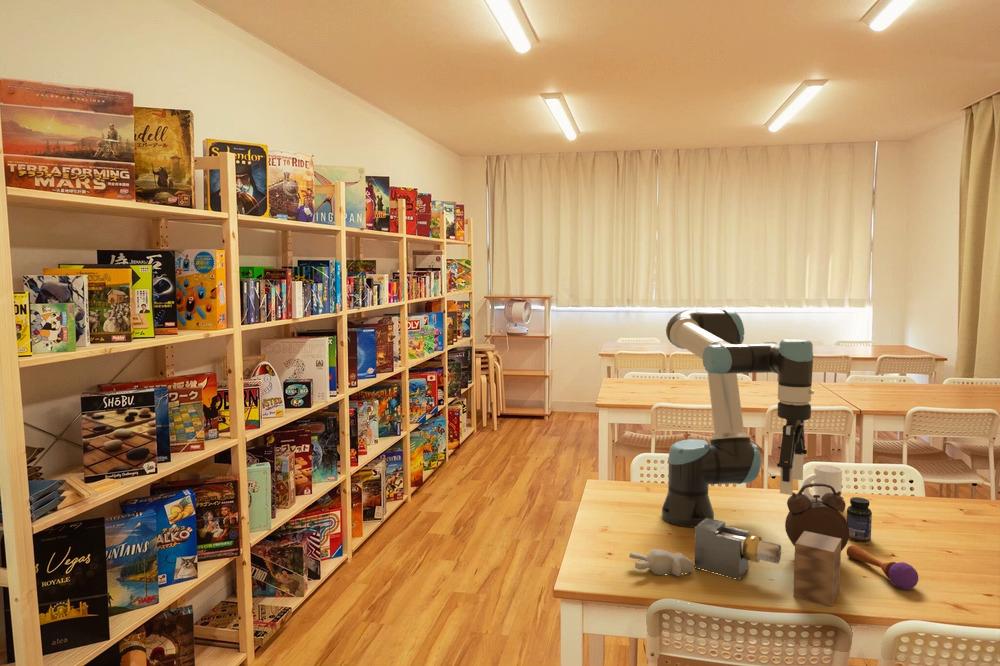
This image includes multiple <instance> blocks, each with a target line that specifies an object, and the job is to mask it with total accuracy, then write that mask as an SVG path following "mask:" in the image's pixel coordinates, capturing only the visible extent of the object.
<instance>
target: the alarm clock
mask: <svg viewBox="0 0 1000 666" xmlns="http://www.w3.org/2000/svg"><path fill="white" fill-rule="evenodd" d="M813 486H823V487H828V488H831V490H832V491H833V493H826V494H825V495H823V496H822V498H821V500H822V501H821V500H817V498H820V495H813V497H814V498H816V499H809V498H808V497H807V496H806V495H805V494H804V493H803V491H804V490H805V489H806V488H808V487H809V488H811V487H812V488H813ZM840 495H841V496H840ZM844 499H845V498H844V497H843V496H842V491H841V492H840V491H839V492H837V493H836V491H835V490H834V488H833V487H832V486H830V485H827V484H821V483H812V482H811V483H810V484H807V485H804V486H803V487H802V486H801V488H800V489H799V491H798V492H797V493H795V492H794V491H793V494H792V495H790V496H789V498H787V501H786V505H787V508H788V511H789V512H788V513H787V515H786V517H785V521H784V522H785V525H784V526H785V527H784V529H785V533H786V536H787V537H788V539H789V540H790V543H791V544H792V545H793V547H795V543H796V541H797V540H798V539H799V537H800V536H801V535H802V533H803V532H804V531H807V532H812V533H817V534H822V535H826V536H831V537H836V538H841V552H842V551H843V550H844V549H845V547H846V546H847V544H848V541H849V540H850V539H849V527H848V523H847V518H845V517H844V515H843V513H844V511H845V510H846V506H847V505H846V504H847V503H846V500H844ZM794 556H795V553H794Z"/></svg>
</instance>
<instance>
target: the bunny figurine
mask: <svg viewBox="0 0 1000 666" xmlns="http://www.w3.org/2000/svg"><path fill="white" fill-rule="evenodd" d="M628 558H630V559H634V560H635V559H636V560H640V561H635V562H634V568H635V569H637V570H642V571H643V570H646V569H649V570H650V571H651V572H652V573H653V574H654V575H655V574H657V575H656V576H663V575H664V576H666V575H665V574H669V575H674V576H676V577H680V576H682V575H681V574H682V573H683V574H685V573H688V574H690V572H694V571H695V570H694V569H695V568H694V566H695V563H693V562H692V560H691V559H690V558H688V557H686V556H685V555H684V554H682V553H681V552H676V553H673V552H671V551H667V550H665V549H660V548H653V549H651V550H650V552H649V553H648V554H647V555H645V554H641V553H637V552H635V551H630V553H629V556H628Z"/></svg>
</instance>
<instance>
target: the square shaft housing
mask: <svg viewBox="0 0 1000 666" xmlns="http://www.w3.org/2000/svg"><path fill="white" fill-rule="evenodd" d="M719 531H721V532H725V533H729V534H734V535H738V536H743V537H746V535H747V534H749V535H750V531H749V530H746V529H741V528H737V527H733V526H732V527H731V526H728V525H726V522H725V521H723V520H719V519H715V518H714V519H709V518H705V519H704V520H703V521H702V522H700V523H699V524H698V525H697V526H696V527H694V567H696V568H700V569H704V570H707V571H710V572H714V573H718V574H721V575H724V576H728V577H731V578H730V579H732V578H736V579H739V578H740V577H741V576H742V575H743V574H744V573H745V574H746V572H747V571H748V570H749V560H745V559H744V558H743V555H741V539H737V538H733V537H728V536H724V535H720V534H717V533H718V532H719ZM747 569H748V570H747ZM710 572H709V573H710ZM745 574H744V575H745ZM721 575H720V576H721ZM744 575H743V576H744ZM724 576H723V577H724ZM743 576H742V577H743ZM728 577H727V578H728ZM742 577H741V578H742ZM741 578H740V579H741ZM736 579H735V580H736Z"/></svg>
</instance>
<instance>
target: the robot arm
mask: <svg viewBox="0 0 1000 666" xmlns="http://www.w3.org/2000/svg"><path fill="white" fill-rule="evenodd" d="M665 333H666V334H665V335H666V337H667V340H668V341H669V342H670V343H671V344H672V345H673V346H675V347H676V348H677V349H682V350H687V351H688V352H690V353H692V354H693V355H695V356H696V357H698V358H699V359H701V360H702V365H703V367H704V369H705V371H706V372H707V378H708V386H709V387H708V388H709V396H710V403H711V405H710V406H711V415H712V421H713V431H714V434H713V436H712V437H710V440H709V441H710V443H709V442H708V441H707V440H705V439H695V438H690V439H689V438H688V439H683V440H679V441H676V442H674V443H673V444H671V446H670V447H669V449H668V450H669V452H668V458H667V462H668V480H667V481H668V482H667V483H668V484H667V485H668V486H667V488H668V489H667V494H666V496H665V500H664V503H663V505H662V509H661V517H662V519H663V518H664V519H665V520H664V519H663V520H664V521H666V522H667V521H668V523H669V522H670V523H669V524H672V523H673V525H675V524H676V525H675V526H678V527H685V526H686V528H695V527H696V526H697V525H698V524H699V523H700V522H702V521H703V520H704V519H705V518H709V519H714V520H715V513H714V509H713V507H712V503H711V499H710V496H709V486H710V485H731V484H733V485H735V484H736V485H741V484H746V483H747V484H749V483H753V482H754V481H755V480H756V479H757V478H758V476H759V473H760V471H761V466H762V456H761V451H760V449H759V447H758V445H757V444H755V443H752V442H751V436H749V435H748V434H747V433H746V432H745V428H744V421H743V411H742V406H741V396H740V390H739V382H738V374H755V373H756V374H760V373H762V374H763V373H767V374H768V373H769V374H770V373H773V374H777V375H778V384H777V400H778V402H777V413H776V414H777V417H779V418H780V419H784V420H786V423H785V425H783V426H782V438H781V444H780V452H779V453H780V454H779V460H778V463H777V464H776V467H777V468H780V473H779V474H780V477H779V494H783V495H790V496H792V494H793V492H794V489H793V488H794V487H793V486H794V480H798V481H804V478H803V477H804V455H807V454H808V450H807V449H806V441H805V439H806V438H805V437H806V436H805V424H804V423H805V421H807V420H810V419H811V418H812V417H811V415H812V405H811V404H810V402H812V395H814V393H815V391H814V389H812V384H813V383H812V382H813V370H814V369H813V368H814V367H813V365H814V352H813V349H814V348H813V347H814V346H813V342H812V341H811V340H808V339H801V338H784V339H781V340H780V342H779V343H777V342H774V341H771V342H768V341H766V342H761V343H744V344H743V342H744V340H745V337H744V336H745V327H744V322H743V320H742V319H741V316H740V315H739V314H738V313H737V312H736V311H734V310H732V309H724V308H723V309H722V308H719V309H718V308H717V309H686V310H683V311H680V312H678V313H677V312H676V314H673V316H672V317H671V318H670V319H669V321H668V322H667V325H666V328H665Z"/></svg>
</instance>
